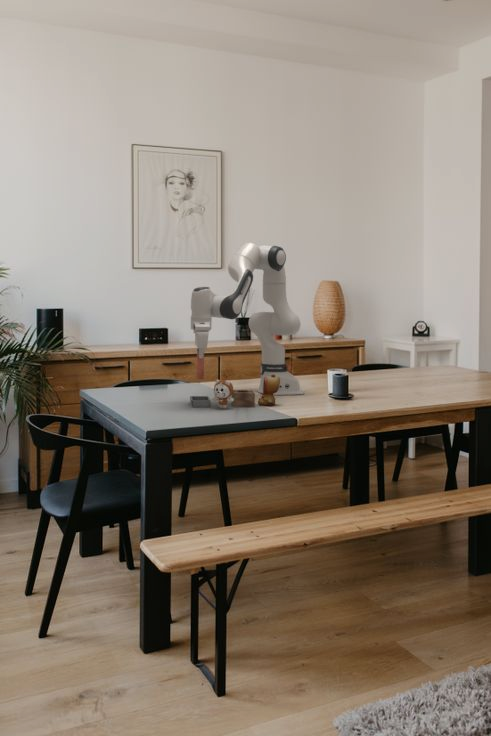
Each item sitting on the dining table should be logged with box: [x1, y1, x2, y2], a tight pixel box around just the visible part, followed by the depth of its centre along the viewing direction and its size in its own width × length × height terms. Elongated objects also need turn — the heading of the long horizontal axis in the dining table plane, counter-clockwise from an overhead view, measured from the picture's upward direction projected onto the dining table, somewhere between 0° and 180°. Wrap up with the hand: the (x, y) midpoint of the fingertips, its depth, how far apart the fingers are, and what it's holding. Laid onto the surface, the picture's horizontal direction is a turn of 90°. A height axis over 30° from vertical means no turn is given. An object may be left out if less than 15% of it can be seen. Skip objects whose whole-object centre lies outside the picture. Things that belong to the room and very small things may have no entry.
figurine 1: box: [212, 379, 234, 409], centre depth 290 cm, size 9×9×12 cm
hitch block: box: [230, 389, 256, 408], centre depth 299 cm, size 9×9×6 cm
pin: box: [196, 348, 205, 380], centre depth 295 cm, size 3×3×13 cm
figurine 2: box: [257, 374, 280, 407], centre depth 301 cm, size 10×8×15 cm
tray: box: [189, 395, 211, 408], centre depth 297 cm, size 8×11×3 cm
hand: (200, 357), depth 295 cm, fingers closed on pin, 3 cm apart
